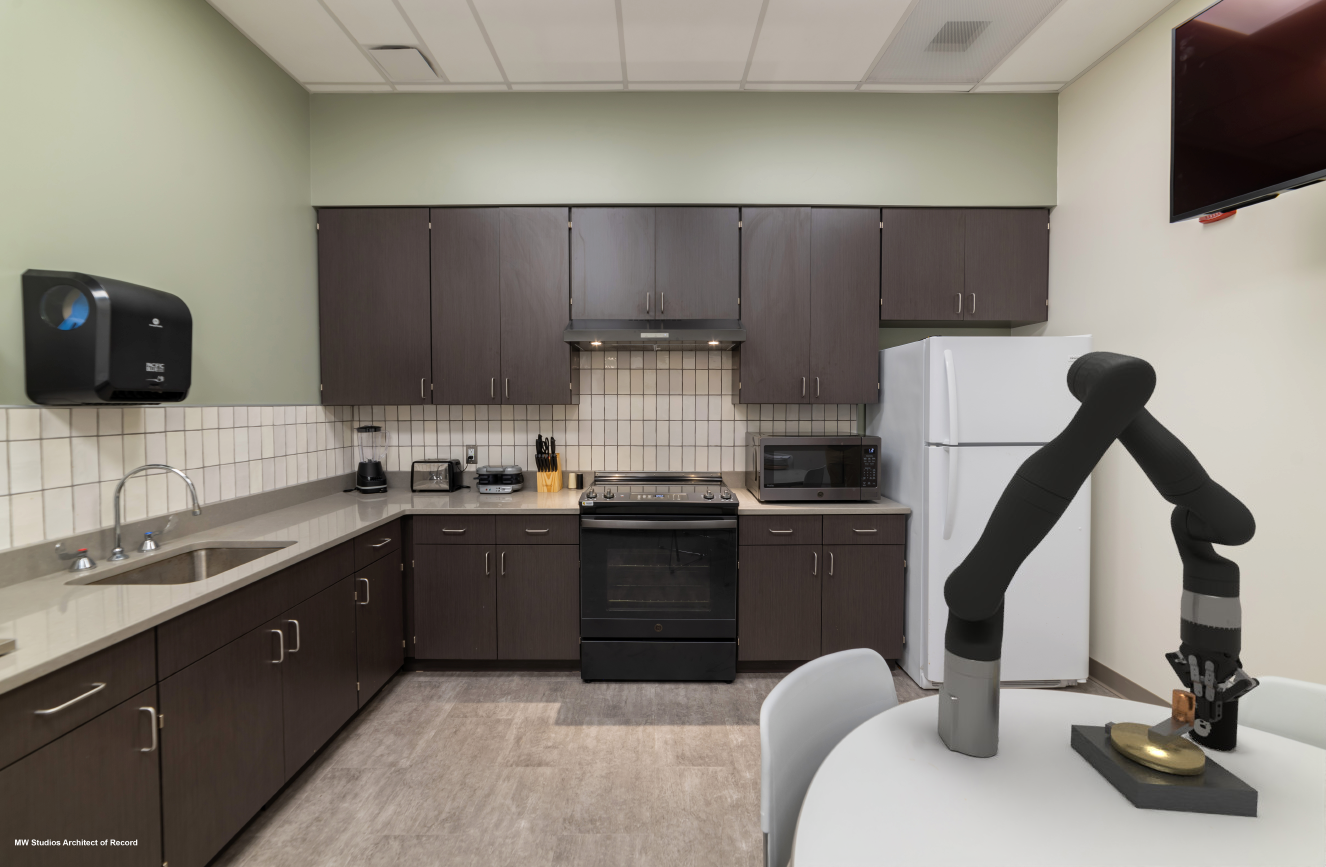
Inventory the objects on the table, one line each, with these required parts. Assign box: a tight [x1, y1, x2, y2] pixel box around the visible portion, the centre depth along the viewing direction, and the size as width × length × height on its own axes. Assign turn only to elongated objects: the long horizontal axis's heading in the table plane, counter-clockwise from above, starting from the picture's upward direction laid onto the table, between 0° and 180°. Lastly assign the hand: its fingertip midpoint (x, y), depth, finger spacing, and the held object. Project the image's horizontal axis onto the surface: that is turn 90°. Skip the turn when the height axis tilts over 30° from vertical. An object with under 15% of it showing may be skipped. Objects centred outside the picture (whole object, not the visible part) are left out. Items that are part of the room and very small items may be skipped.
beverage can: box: [1187, 679, 1240, 752], centre depth 108 cm, size 7×7×12 cm
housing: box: [1070, 724, 1259, 818], centre depth 97 cm, size 17×17×4 cm
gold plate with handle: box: [1104, 688, 1206, 775], centre depth 98 cm, size 18×13×8 cm
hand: (1208, 719), depth 98 cm, fingers closed
